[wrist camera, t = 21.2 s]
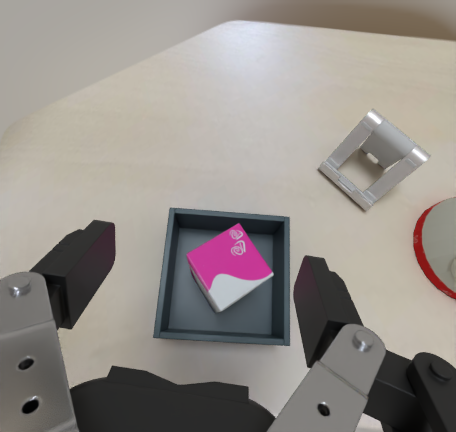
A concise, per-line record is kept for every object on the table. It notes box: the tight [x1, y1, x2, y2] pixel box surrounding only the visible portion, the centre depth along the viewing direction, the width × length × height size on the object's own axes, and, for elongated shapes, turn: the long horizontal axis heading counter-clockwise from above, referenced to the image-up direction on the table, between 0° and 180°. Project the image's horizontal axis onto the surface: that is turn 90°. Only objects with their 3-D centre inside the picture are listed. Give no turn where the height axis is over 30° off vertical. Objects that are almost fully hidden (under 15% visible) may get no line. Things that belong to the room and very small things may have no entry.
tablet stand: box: [319, 109, 431, 211], centre depth 39 cm, size 9×8×8 cm
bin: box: [153, 208, 290, 346], centre depth 34 cm, size 13×13×6 cm
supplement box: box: [186, 223, 274, 313], centre depth 31 cm, size 6×6×12 cm
